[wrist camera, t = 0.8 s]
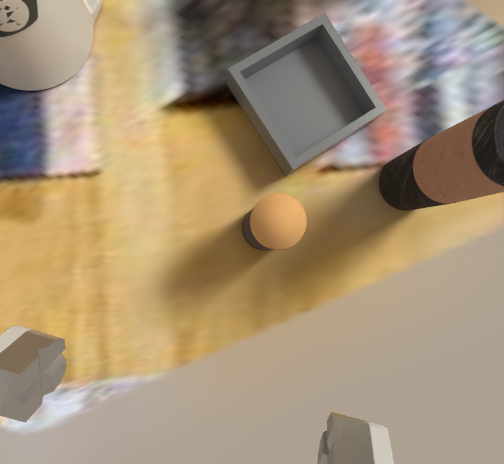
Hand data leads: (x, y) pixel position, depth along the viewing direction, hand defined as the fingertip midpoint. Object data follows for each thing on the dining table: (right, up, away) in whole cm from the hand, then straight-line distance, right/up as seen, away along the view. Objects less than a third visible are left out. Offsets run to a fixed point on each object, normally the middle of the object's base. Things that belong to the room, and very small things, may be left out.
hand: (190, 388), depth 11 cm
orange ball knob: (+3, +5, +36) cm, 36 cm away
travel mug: (+22, +11, +38) cm, 46 cm away
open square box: (+8, +21, +37) cm, 44 cm away
